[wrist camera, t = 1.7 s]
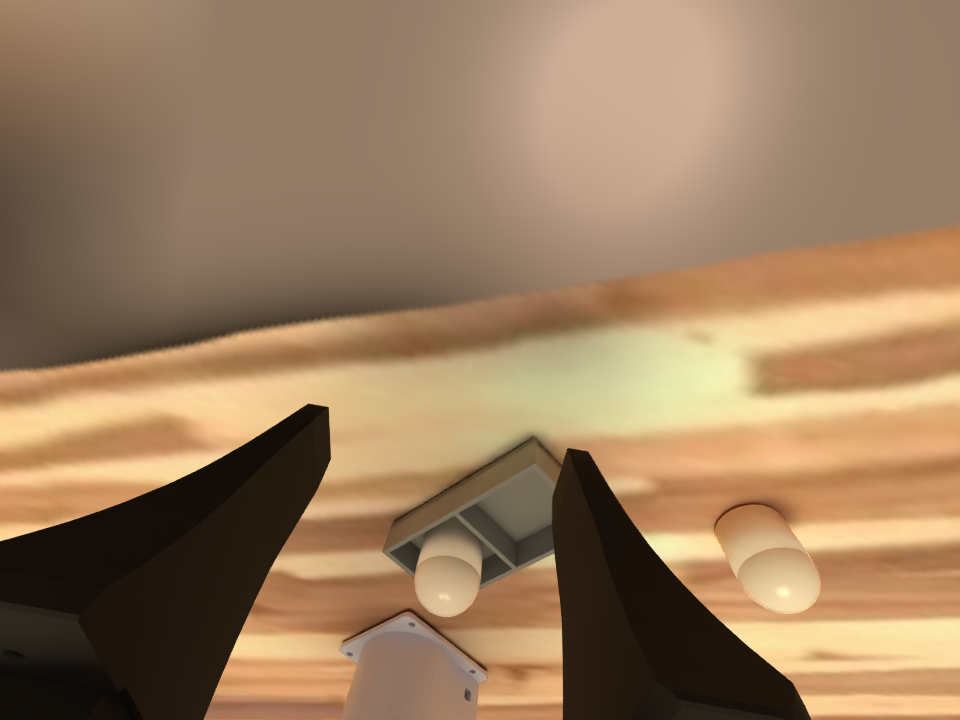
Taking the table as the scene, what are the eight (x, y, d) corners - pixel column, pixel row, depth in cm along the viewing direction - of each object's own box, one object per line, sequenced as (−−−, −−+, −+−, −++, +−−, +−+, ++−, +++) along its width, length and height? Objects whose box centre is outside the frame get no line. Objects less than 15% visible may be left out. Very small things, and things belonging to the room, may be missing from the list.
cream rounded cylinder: (794, 534, 25) (851, 613, 21) (732, 559, 27) (774, 639, 22) (765, 494, 24) (819, 569, 20) (703, 522, 26) (741, 599, 21)
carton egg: (496, 542, 27) (491, 617, 23) (452, 565, 29) (439, 640, 24) (457, 505, 26) (444, 577, 22) (413, 531, 27) (392, 603, 23)
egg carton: (593, 502, 26) (599, 531, 24) (451, 574, 30) (446, 604, 28) (534, 437, 24) (535, 463, 22) (392, 523, 28) (382, 551, 26)
